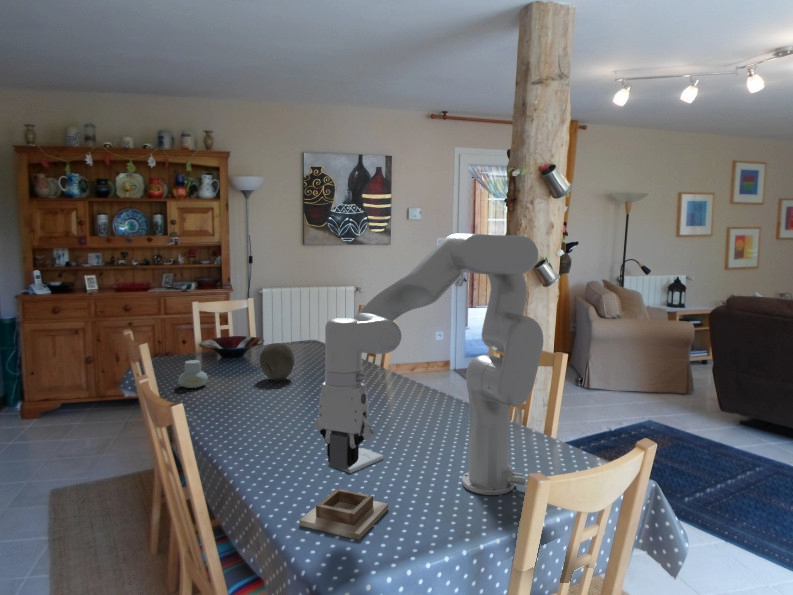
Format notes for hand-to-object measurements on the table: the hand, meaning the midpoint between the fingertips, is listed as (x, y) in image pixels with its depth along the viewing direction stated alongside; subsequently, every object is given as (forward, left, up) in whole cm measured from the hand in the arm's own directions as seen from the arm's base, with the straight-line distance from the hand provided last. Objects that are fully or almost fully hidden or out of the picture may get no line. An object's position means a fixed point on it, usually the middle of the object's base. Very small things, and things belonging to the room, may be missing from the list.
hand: (342, 461), depth 123 cm
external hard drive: (+11, -28, -13) cm, 33 cm away
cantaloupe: (+80, -89, -13) cm, 120 cm away
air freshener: (+104, -67, -13) cm, 124 cm away
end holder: (0, 0, -13) cm, 13 cm away
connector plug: (0, 0, -1) cm, 1 cm away
